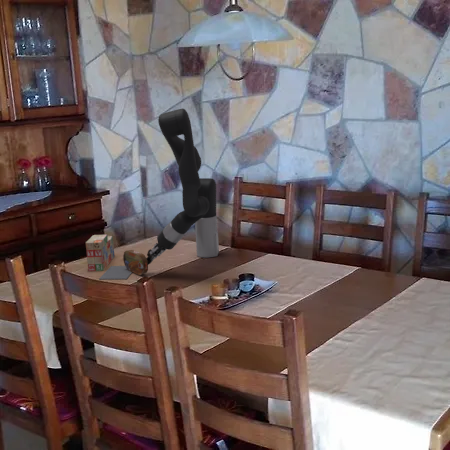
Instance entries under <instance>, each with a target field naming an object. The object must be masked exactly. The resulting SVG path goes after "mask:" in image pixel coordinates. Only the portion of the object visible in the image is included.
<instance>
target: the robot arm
mask: <svg viewBox="0 0 450 450" xmlns="http://www.w3.org/2000/svg"><path fill="white" fill-rule="evenodd" d="M157 120H158V126H159V129H160V132H161V133H162V136H163V137H164V139H165V140H166V142H167V144H168V146H169V147H170V150H171V151H172V153H173V156H174V159H175V161H176V163H177V165H178V176H179V178H180V183H181V188H182V191H181V192H182V193H181V194H182V208H183V210H182V211H180V212H178V213H177V214H176V215H175V216H174V218H173V219H172V220H171V221H170V222H169V223H167V225H166V226H165V227H164V228H163V229H162V230H161V231H160V233H158V235H157V237H156V240H157V242H156V243H155V244H154V245H153V247H152V248H150V249H148V251H147V254H146V258H147V261H148V266H150V264H151V263H152V262H153V261H154V260H155V259H157V258H158V257H160V256H161V255H162V254H163V253H164V252H166V251H168V250H173V249H174V247H176V245H178V244H179V242H180V241H181V240H182V239H183V237H184V236H185V234H186V233H187V232H188V231H189V230H190V229H191V228H192V226H193V225H194V226H195V227H194V229H195V244H196V245H195V246H196V256H197V257H199V258H213V257H218V256H219V254H220V253H219V252H220V246H219V231H218V224H217V223H218V221H217V218H218V217H217V183H216V180H215V179H214V178H211V177H210V178H206V177H205V178H203V177H202V178H200V173H199V171H200V169H201V167H202V158H201V155H200V153H199V151H198V149H197V148H196V146H195V144H194V137H193V130H192V123H191V120H190V115H189V114H188V111H187V110H186V109H185V108H178V109H174V110H171V111H167V112H163V113H162V114H159V116H158V119H157ZM181 135H182V136H183V138H184V139H183V138H181V137H179V136H181Z"/></svg>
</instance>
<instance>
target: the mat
mask: <svg viewBox="0 0 450 450" xmlns="http://www.w3.org/2000/svg"><path fill="white" fill-rule="evenodd" d="M132 274H133V272H131V271H129V270H128V269H127V268H126V266H125V265H111V266H109V268H108V269H107V270H106V271H105V272H104V273H103V274H102V275H101V276H100V277H99V278H98V280H105V281H106V280H128V279H129V277H130V276H131V275H132Z"/></svg>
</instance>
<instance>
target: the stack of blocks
mask: <svg viewBox="0 0 450 450" xmlns="http://www.w3.org/2000/svg"><path fill="white" fill-rule="evenodd" d="M113 237H114V236H113V235H108V234H94V235H93V234H92V236H91V237H90V238H89V239H88V240H87V241H85V248H86V249H85V250H86V259H87V272H103V271H104V270H105V269H106V268H107V267H108V265H109V264H110V262H111V261H112V260H113V259H114V258H115V247H114V245H115V244H114V240H113Z"/></svg>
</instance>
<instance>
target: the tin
mask: <svg viewBox="0 0 450 450" xmlns="http://www.w3.org/2000/svg"><path fill="white" fill-rule="evenodd" d="M122 257H123V258H122V260H123V264H124V266H126V268H127V269H128V270H129V271H131V272H132V274H136V275H138V276H141V275H145V274H147V273H148V271H149V265H148V261H147V256H146V255H145V254H143V253H142V252H139V251H137V250H134V249H129V250H125V251H124V252H123V255H122Z"/></svg>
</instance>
